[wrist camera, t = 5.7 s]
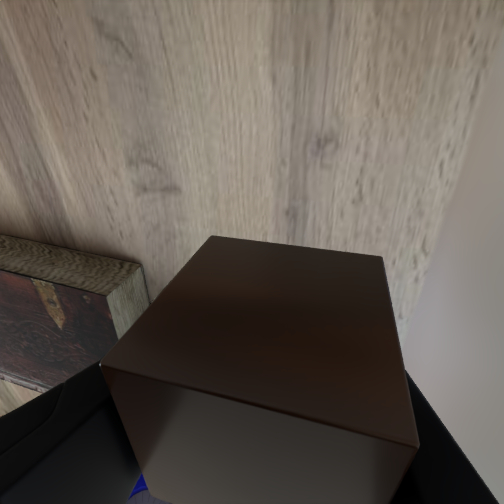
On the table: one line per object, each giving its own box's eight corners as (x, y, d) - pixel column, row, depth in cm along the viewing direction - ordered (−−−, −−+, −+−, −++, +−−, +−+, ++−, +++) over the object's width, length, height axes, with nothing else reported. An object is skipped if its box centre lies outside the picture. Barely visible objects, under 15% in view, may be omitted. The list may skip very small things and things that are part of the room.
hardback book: (-19, 335, 42) (-59, 363, 38) (-91, 212, 32) (-156, 231, 28) (165, 392, 36) (141, 433, 32) (144, 262, 26) (106, 296, 22)
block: (383, 255, 7) (422, 447, 3) (353, 376, 9) (356, 572, 6) (210, 234, 8) (96, 362, 4) (220, 347, 10) (149, 496, 7)
